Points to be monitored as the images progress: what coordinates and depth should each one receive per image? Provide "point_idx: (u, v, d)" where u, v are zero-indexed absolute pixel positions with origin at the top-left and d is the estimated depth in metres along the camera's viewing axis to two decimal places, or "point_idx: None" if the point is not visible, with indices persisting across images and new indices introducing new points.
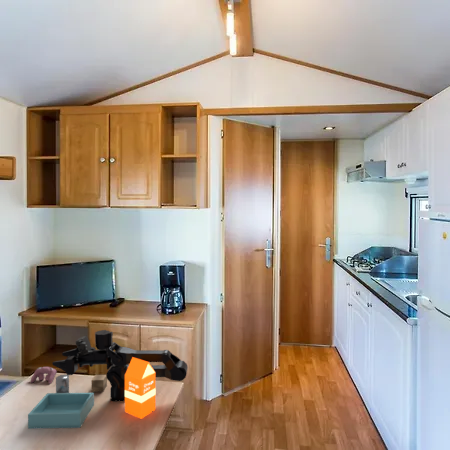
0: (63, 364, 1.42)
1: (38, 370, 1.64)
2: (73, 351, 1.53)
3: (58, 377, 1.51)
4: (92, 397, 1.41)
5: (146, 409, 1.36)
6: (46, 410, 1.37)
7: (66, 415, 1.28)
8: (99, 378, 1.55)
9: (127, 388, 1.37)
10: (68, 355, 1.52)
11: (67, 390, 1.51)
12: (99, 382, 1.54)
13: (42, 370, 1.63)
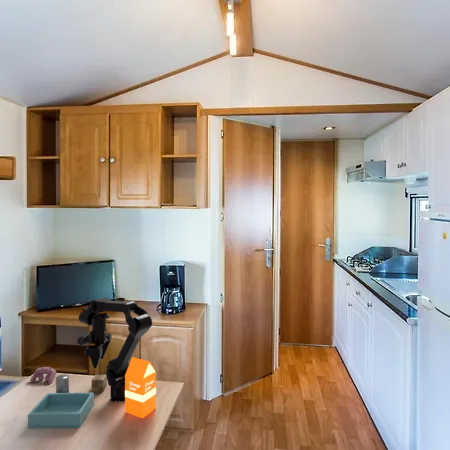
0: (94, 358, 1.50)
1: (38, 370, 1.63)
2: None
3: (58, 377, 1.51)
4: (92, 397, 1.41)
5: (148, 408, 1.37)
6: (46, 410, 1.37)
7: (66, 415, 1.28)
8: (99, 378, 1.55)
9: (128, 388, 1.37)
10: (103, 353, 1.61)
11: (67, 390, 1.51)
12: (99, 382, 1.54)
13: (42, 370, 1.63)
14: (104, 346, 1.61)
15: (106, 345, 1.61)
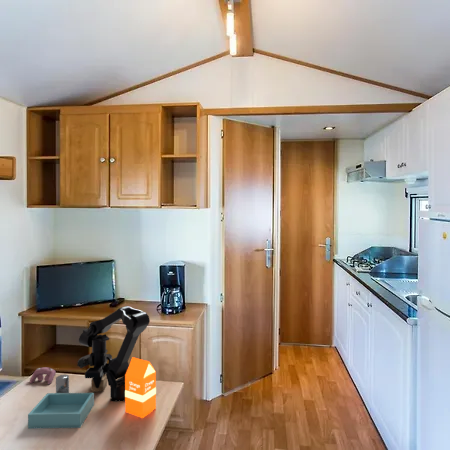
0: (96, 378, 1.52)
1: (37, 371, 1.63)
2: None
3: (58, 377, 1.51)
4: (92, 397, 1.41)
5: (148, 408, 1.37)
6: (46, 410, 1.37)
7: (66, 415, 1.28)
8: None
9: (128, 388, 1.37)
10: None
11: (67, 390, 1.51)
12: None
13: (41, 371, 1.62)
14: (103, 369, 1.59)
15: (105, 368, 1.59)
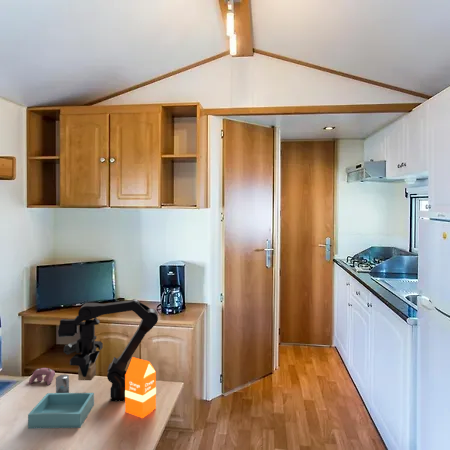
0: (83, 366, 1.42)
1: (36, 371, 1.62)
2: None
3: (58, 377, 1.51)
4: (92, 397, 1.41)
5: (148, 408, 1.37)
6: (46, 410, 1.37)
7: (66, 415, 1.28)
8: None
9: (128, 388, 1.37)
10: None
11: (67, 390, 1.51)
12: None
13: (40, 371, 1.62)
14: (92, 357, 1.49)
15: (94, 356, 1.49)
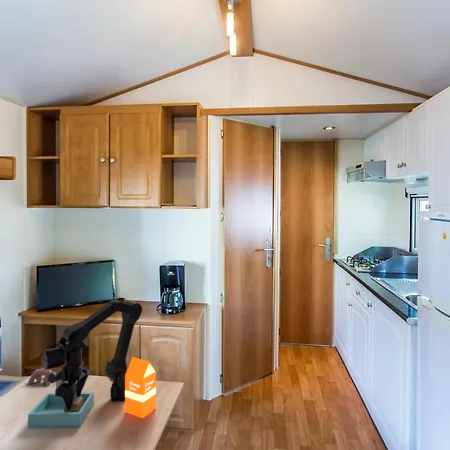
0: (67, 398, 1.29)
1: (36, 372, 1.62)
2: (76, 384, 1.40)
3: None
4: (92, 397, 1.41)
5: (148, 408, 1.37)
6: (46, 410, 1.37)
7: (66, 415, 1.28)
8: (73, 401, 1.34)
9: (128, 388, 1.37)
10: (80, 390, 1.40)
11: None
12: (73, 406, 1.33)
13: (40, 372, 1.61)
14: (81, 382, 1.40)
15: (83, 380, 1.40)
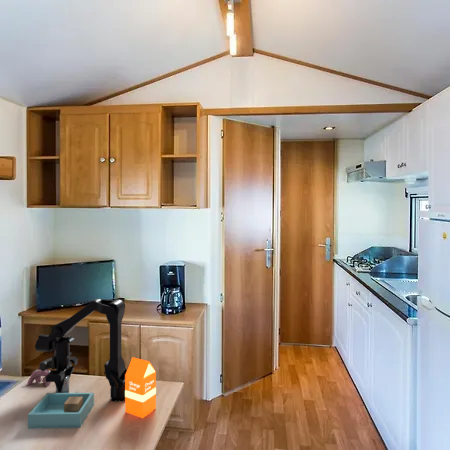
0: (58, 381, 1.48)
1: (35, 372, 1.61)
2: None
3: None
4: (92, 397, 1.41)
5: (148, 408, 1.37)
6: (46, 410, 1.37)
7: (66, 415, 1.28)
8: (73, 401, 1.34)
9: (128, 388, 1.37)
10: None
11: (67, 390, 1.51)
12: (73, 406, 1.33)
13: (39, 372, 1.61)
14: (67, 372, 1.55)
15: (69, 371, 1.55)
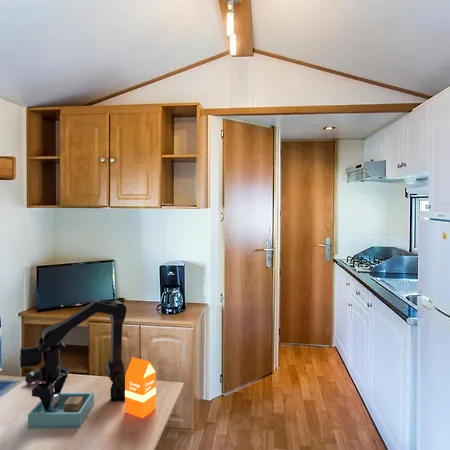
0: (45, 398, 1.29)
1: None
2: (55, 385, 1.39)
3: None
4: (92, 397, 1.41)
5: (148, 408, 1.37)
6: None
7: (66, 415, 1.28)
8: (73, 401, 1.34)
9: (128, 388, 1.37)
10: (58, 390, 1.39)
11: (57, 410, 1.34)
12: (73, 406, 1.33)
13: None
14: (60, 382, 1.40)
15: (62, 381, 1.40)
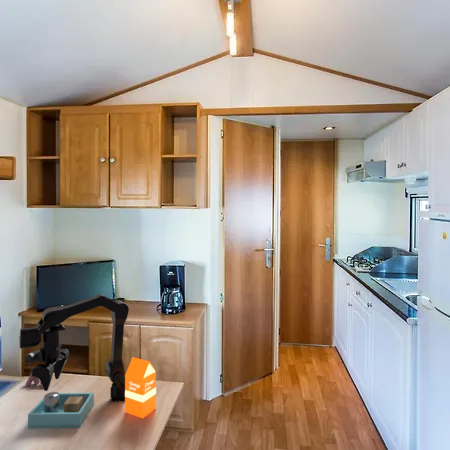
0: (44, 379, 1.29)
1: None
2: (54, 367, 1.39)
3: (47, 395, 1.35)
4: (92, 397, 1.41)
5: (148, 408, 1.37)
6: None
7: (66, 415, 1.28)
8: (73, 401, 1.34)
9: (128, 388, 1.37)
10: (58, 372, 1.39)
11: (57, 410, 1.34)
12: (73, 406, 1.33)
13: None
14: (60, 364, 1.39)
15: (62, 363, 1.40)
